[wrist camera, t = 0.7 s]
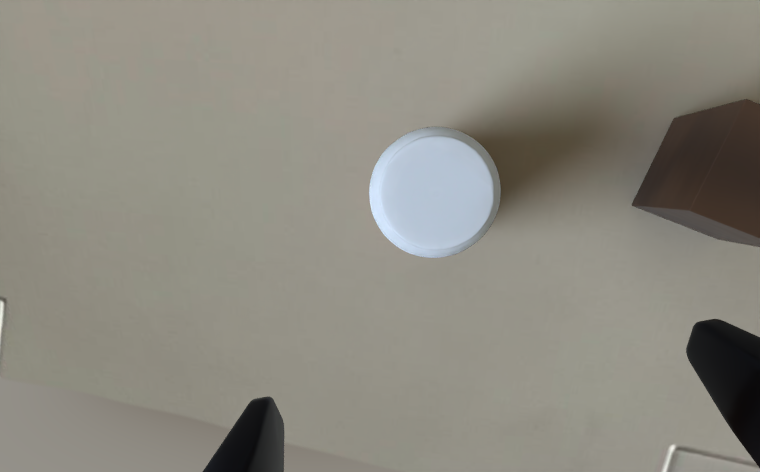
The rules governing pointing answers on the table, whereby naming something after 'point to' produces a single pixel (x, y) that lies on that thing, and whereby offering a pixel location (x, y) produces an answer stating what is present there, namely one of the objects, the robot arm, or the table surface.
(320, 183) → the table surface
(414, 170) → the pill bottle
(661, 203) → the walnut block
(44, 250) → the table surface
